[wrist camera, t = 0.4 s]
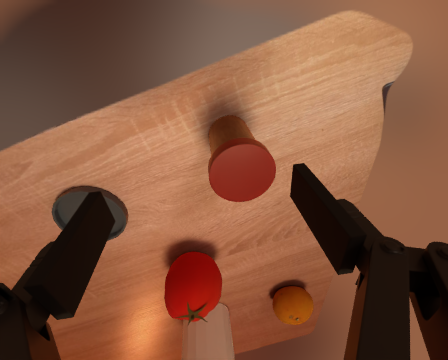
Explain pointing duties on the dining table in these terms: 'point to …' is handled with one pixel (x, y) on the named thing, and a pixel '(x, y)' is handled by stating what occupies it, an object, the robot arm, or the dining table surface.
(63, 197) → the saucer
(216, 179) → the lid
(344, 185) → the dining table surface
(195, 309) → the tomato
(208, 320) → the container
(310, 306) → the fruit
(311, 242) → the dining table surface
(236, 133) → the jar
